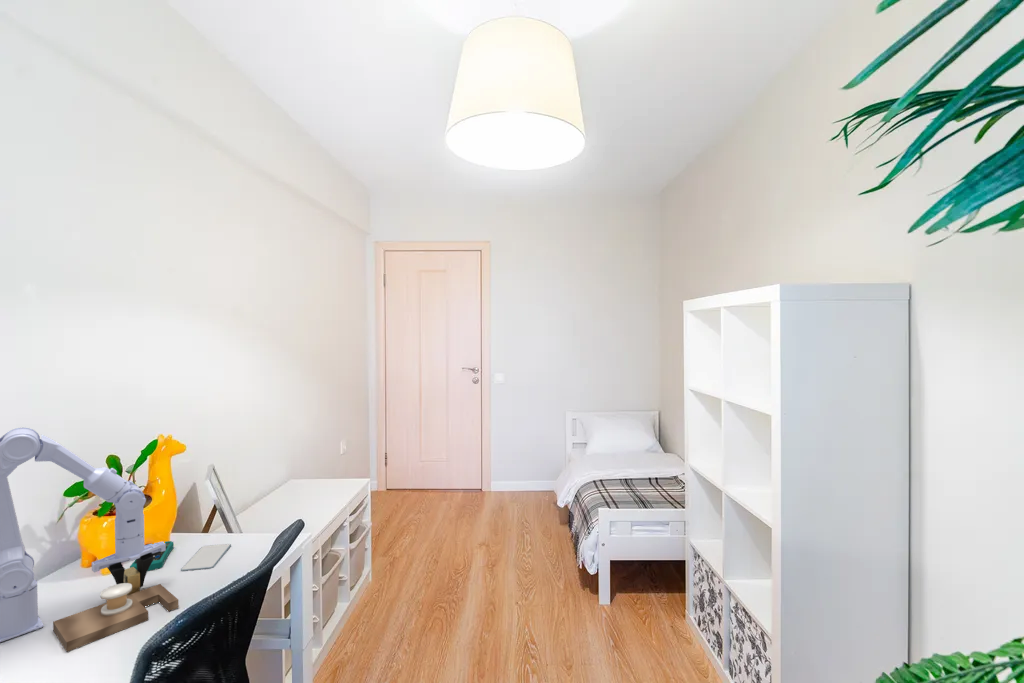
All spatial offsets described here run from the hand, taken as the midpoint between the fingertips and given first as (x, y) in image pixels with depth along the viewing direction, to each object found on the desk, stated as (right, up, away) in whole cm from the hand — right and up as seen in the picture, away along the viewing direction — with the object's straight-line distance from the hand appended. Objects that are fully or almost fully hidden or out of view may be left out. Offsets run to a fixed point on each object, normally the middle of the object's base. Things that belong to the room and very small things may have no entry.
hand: (130, 588), depth 122 cm
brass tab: (0, -2, 0) cm, 2 cm away
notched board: (+5, -2, -10) cm, 11 cm away
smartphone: (+6, -2, +20) cm, 21 cm away
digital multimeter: (-9, -2, +19) cm, 21 cm away
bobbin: (+4, 0, -9) cm, 10 cm away
